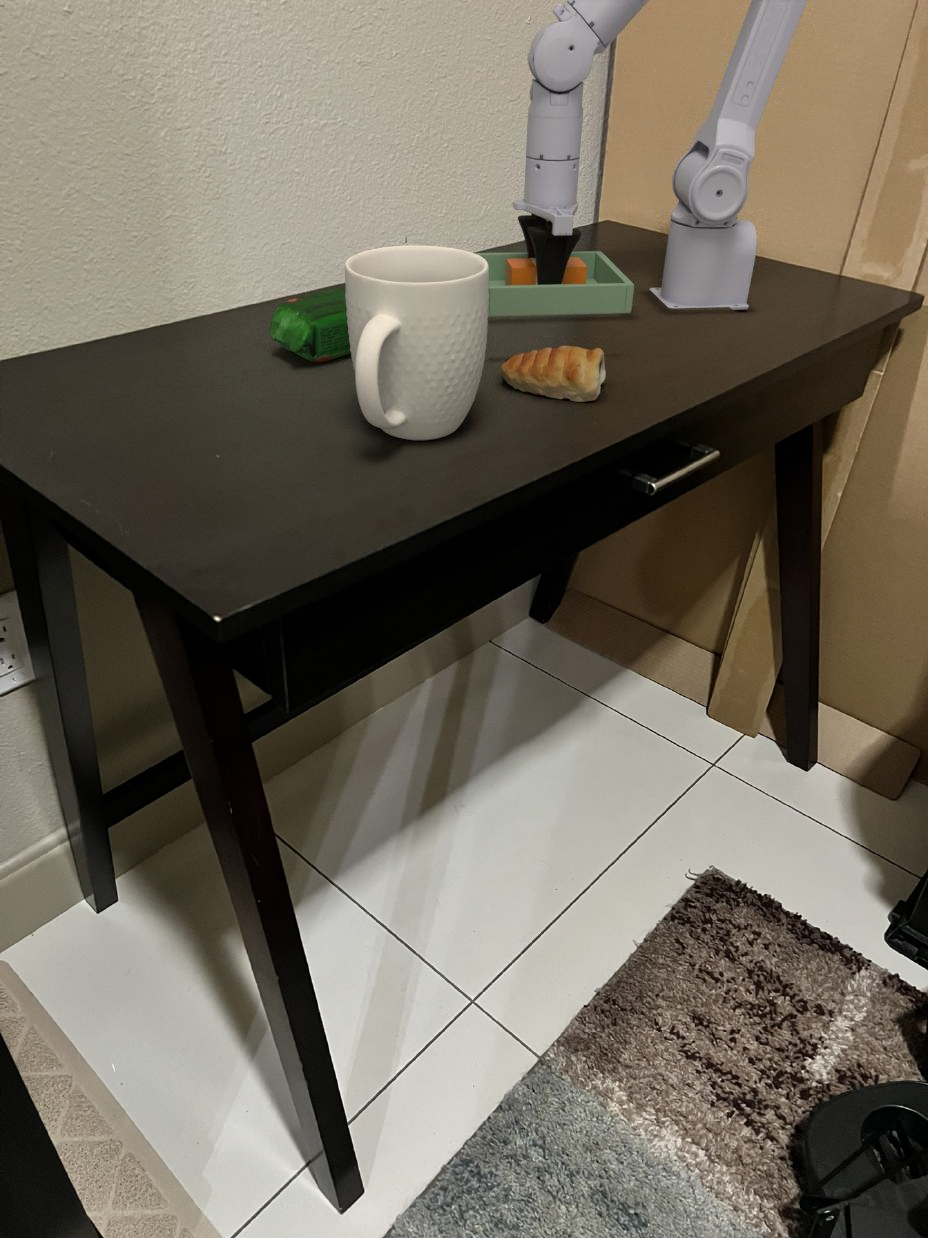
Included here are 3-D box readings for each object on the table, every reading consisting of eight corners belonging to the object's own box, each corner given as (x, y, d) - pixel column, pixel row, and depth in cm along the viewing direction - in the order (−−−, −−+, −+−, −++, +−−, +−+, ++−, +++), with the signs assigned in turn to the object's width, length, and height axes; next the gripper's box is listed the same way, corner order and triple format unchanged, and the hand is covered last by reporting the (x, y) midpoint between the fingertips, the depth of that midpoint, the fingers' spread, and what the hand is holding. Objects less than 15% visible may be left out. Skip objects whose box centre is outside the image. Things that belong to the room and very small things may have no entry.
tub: (598, 281, 113) (601, 250, 111) (630, 318, 102) (634, 284, 100) (464, 284, 112) (464, 252, 109) (481, 321, 100) (482, 287, 98)
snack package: (429, 339, 95) (429, 287, 92) (300, 373, 86) (295, 317, 83) (387, 323, 99) (385, 273, 96) (260, 354, 90) (254, 299, 88)
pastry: (494, 395, 83) (496, 353, 80) (507, 369, 88) (509, 329, 86) (599, 405, 81) (604, 362, 79) (606, 378, 87) (610, 338, 84)
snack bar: (576, 288, 108) (578, 256, 106) (584, 299, 105) (587, 265, 103) (504, 290, 107) (506, 257, 105) (510, 300, 104) (512, 267, 102)
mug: (436, 484, 68) (435, 305, 61) (305, 458, 71) (289, 285, 64) (503, 411, 80) (509, 253, 72) (388, 392, 83) (382, 238, 75)
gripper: (504, 145, 103) (499, 271, 111) (528, 168, 92) (521, 307, 99) (566, 145, 104) (557, 269, 112) (597, 168, 92) (585, 305, 100)
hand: (544, 287), depth 106 cm, fingers closed on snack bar, 4 cm apart
